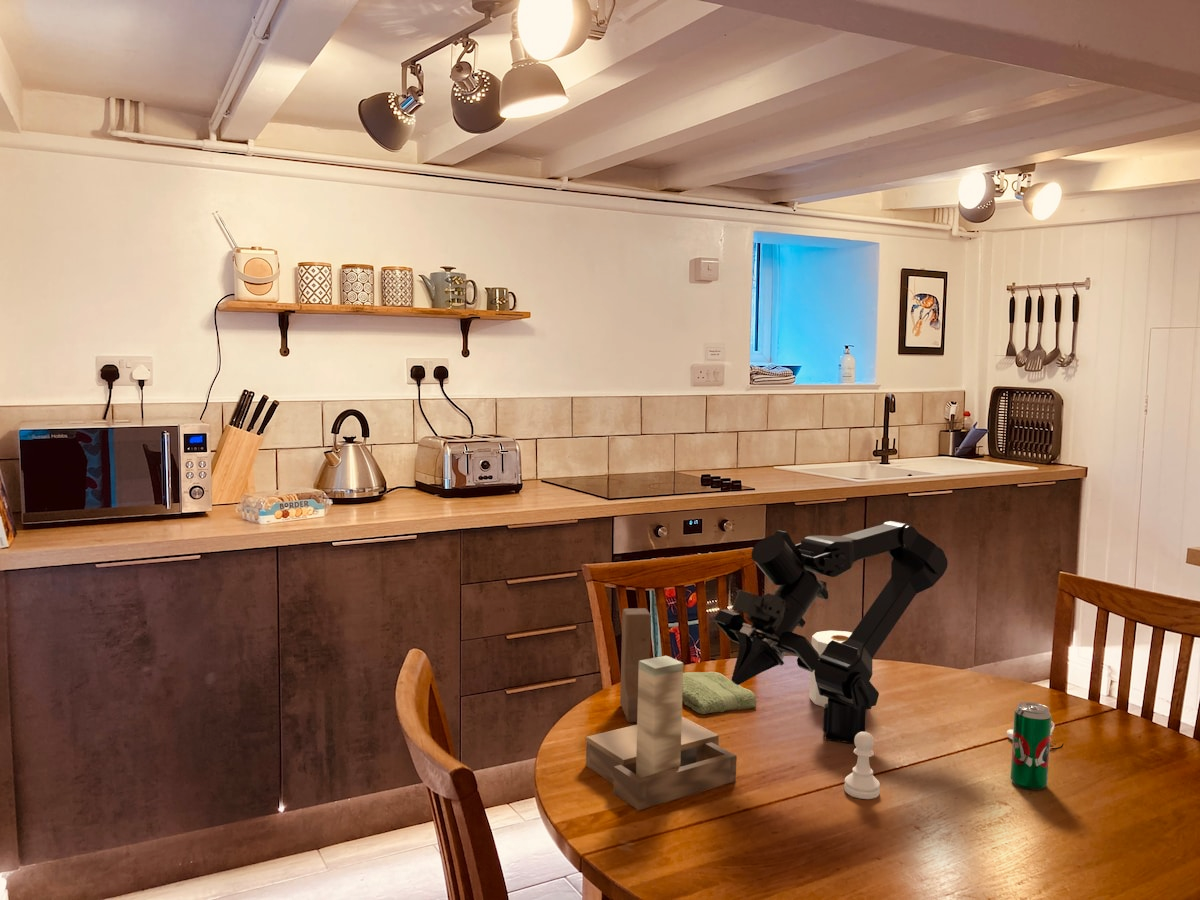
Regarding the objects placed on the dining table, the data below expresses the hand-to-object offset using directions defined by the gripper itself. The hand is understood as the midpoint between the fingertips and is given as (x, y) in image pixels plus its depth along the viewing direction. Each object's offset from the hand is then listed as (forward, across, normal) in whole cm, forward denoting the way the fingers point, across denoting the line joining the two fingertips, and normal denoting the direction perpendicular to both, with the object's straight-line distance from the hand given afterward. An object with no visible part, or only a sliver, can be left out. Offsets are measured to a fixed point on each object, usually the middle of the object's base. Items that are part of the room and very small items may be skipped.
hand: (734, 682), depth 143 cm
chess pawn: (+2, +16, +18) cm, 24 cm away
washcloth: (-2, -27, +23) cm, 35 cm away
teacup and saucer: (-27, +15, +47) cm, 56 cm away
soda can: (-15, +27, +34) cm, 46 cm away
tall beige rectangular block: (+20, 0, 0) cm, 20 cm away
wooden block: (+9, -26, +10) cm, 30 cm away
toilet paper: (-16, -12, +36) cm, 42 cm away
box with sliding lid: (+17, -4, +2) cm, 18 cm away
